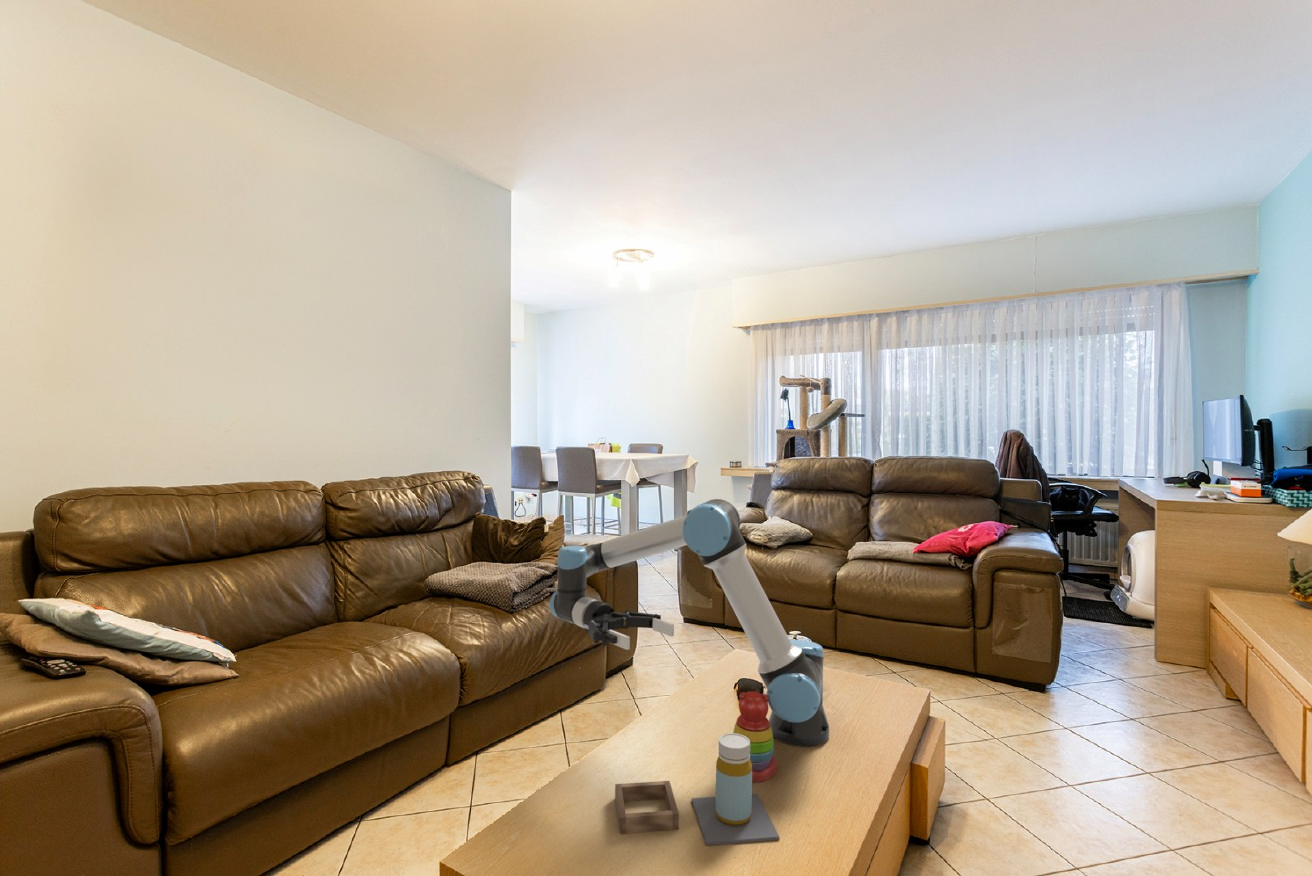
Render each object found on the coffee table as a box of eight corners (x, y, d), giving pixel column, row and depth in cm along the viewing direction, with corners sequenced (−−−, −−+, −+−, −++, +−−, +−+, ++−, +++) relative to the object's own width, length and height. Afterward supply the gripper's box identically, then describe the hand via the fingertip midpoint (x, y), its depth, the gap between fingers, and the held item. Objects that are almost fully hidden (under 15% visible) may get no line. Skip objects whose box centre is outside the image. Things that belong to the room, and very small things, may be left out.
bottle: (750, 829, 120) (751, 751, 119) (713, 824, 121) (714, 747, 121) (752, 808, 126) (753, 734, 126) (717, 803, 128) (718, 730, 128)
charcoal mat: (757, 796, 132) (757, 793, 132) (779, 839, 118) (779, 836, 118) (691, 801, 130) (691, 798, 130) (706, 845, 116) (706, 842, 116)
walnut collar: (669, 794, 132) (669, 780, 132) (678, 829, 120) (678, 813, 120) (615, 798, 130) (615, 784, 130) (619, 833, 119) (619, 818, 119)
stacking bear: (778, 762, 145) (779, 686, 145) (775, 786, 136) (776, 704, 135) (731, 755, 148) (732, 680, 148) (725, 778, 138) (726, 698, 138)
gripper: (631, 620, 166) (689, 641, 150) (551, 641, 149) (607, 666, 133) (631, 592, 165) (689, 610, 150) (552, 609, 148) (608, 631, 133)
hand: (651, 636), depth 141 cm, fingers open, 13 cm apart
